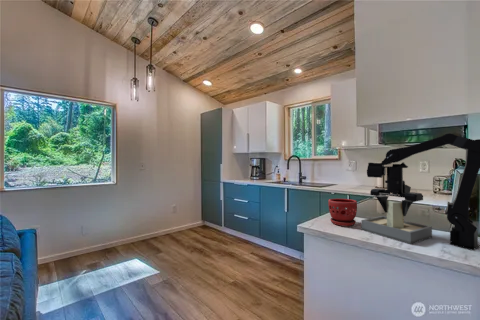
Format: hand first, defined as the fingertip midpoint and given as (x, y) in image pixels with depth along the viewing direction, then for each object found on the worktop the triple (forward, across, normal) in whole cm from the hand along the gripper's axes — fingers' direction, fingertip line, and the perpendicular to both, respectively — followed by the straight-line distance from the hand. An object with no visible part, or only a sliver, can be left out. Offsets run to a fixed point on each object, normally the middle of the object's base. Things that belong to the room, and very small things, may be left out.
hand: (395, 214), depth 98 cm
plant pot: (+9, +21, +7) cm, 24 cm away
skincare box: (+7, 0, 0) cm, 7 cm away
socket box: (+8, 0, 0) cm, 8 cm away
